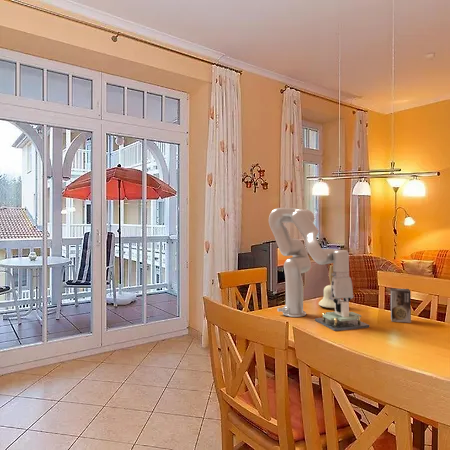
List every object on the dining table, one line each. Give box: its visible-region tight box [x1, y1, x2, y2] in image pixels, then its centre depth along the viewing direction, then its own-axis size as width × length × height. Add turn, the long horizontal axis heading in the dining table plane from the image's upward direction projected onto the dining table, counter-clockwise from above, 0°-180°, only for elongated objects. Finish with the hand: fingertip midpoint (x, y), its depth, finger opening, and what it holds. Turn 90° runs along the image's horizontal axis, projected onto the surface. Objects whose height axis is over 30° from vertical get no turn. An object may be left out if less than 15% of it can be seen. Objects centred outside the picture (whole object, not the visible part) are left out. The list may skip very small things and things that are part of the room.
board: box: [322, 298, 362, 321], centre depth 191 cm, size 17×14×8 cm
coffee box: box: [390, 287, 412, 324], centre depth 196 cm, size 9×6×16 cm
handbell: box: [318, 264, 335, 309], centre depth 225 cm, size 15×15×25 cm
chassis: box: [314, 312, 370, 332], centre depth 191 cm, size 19×19×5 cm
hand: (341, 311), depth 191 cm, fingers closed on board, 3 cm apart
